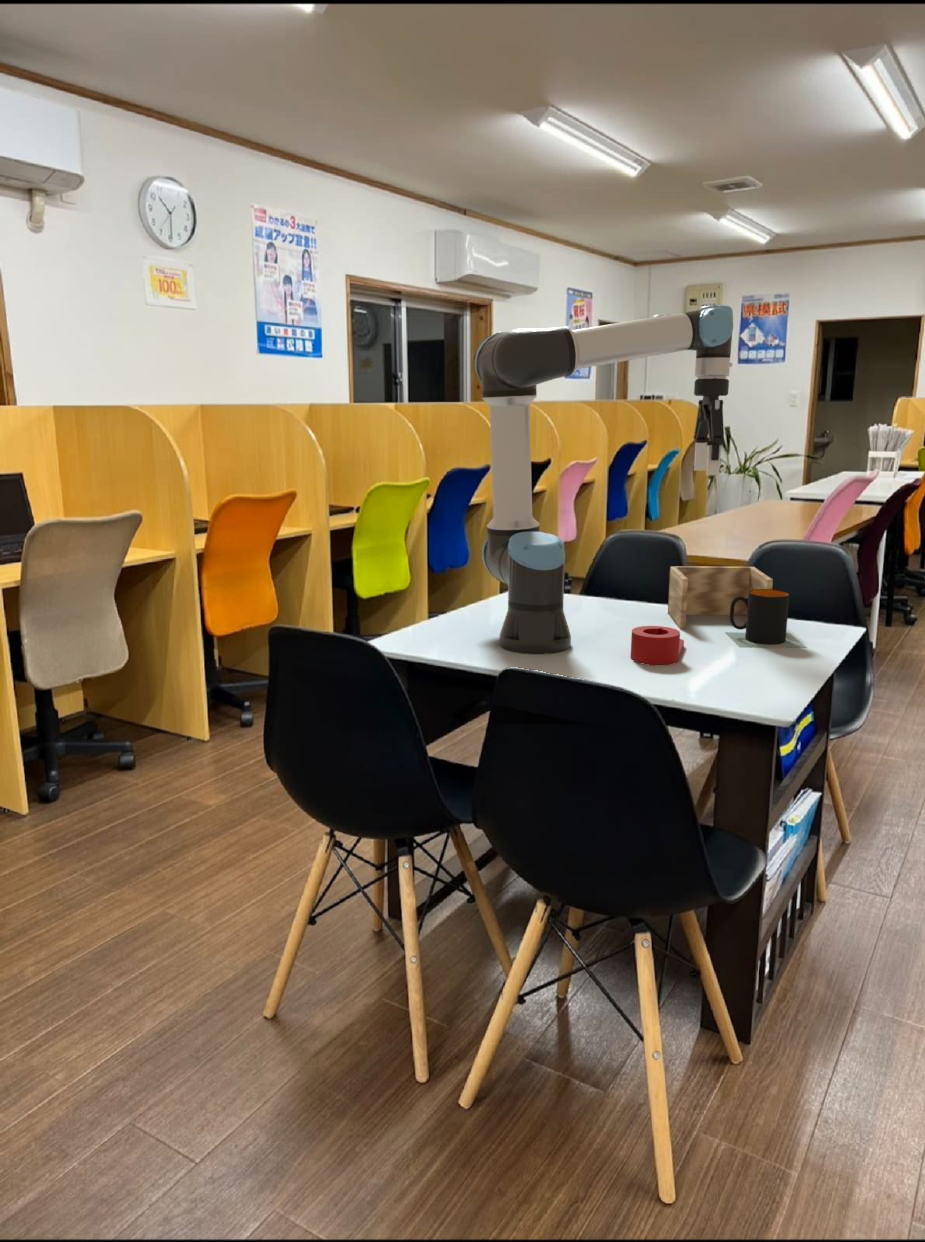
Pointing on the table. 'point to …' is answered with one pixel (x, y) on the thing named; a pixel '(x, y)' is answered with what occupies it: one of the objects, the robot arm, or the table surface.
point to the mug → (764, 616)
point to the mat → (742, 642)
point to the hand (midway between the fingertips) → (706, 472)
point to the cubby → (711, 590)
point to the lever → (656, 645)
